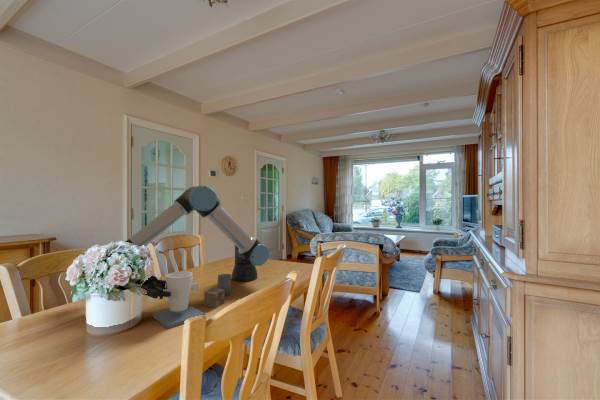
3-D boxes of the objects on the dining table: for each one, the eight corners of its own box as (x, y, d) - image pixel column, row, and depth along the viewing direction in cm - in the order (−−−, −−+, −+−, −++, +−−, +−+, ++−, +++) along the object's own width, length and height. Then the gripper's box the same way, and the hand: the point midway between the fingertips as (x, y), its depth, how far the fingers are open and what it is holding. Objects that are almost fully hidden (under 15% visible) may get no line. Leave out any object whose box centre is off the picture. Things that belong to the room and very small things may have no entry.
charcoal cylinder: (226, 291, 136) (226, 273, 136) (232, 294, 131) (233, 275, 131) (215, 293, 131) (215, 275, 131) (221, 297, 127) (222, 277, 127)
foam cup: (183, 301, 111) (184, 270, 111) (196, 307, 106) (197, 274, 106) (160, 309, 103) (161, 274, 104) (173, 315, 98) (174, 279, 98)
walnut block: (212, 301, 122) (213, 288, 122) (224, 303, 120) (224, 289, 120) (204, 306, 116) (204, 292, 116) (215, 308, 114) (216, 294, 114)
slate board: (188, 307, 115) (188, 304, 115) (204, 316, 105) (204, 313, 105) (152, 316, 104) (152, 313, 104) (167, 328, 95) (167, 325, 95)
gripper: (165, 285, 121) (207, 292, 114) (117, 302, 100) (165, 311, 93) (165, 268, 121) (207, 274, 114) (118, 282, 100) (166, 289, 93)
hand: (188, 290), depth 103 cm, fingers closed on foam cup, 9 cm apart
